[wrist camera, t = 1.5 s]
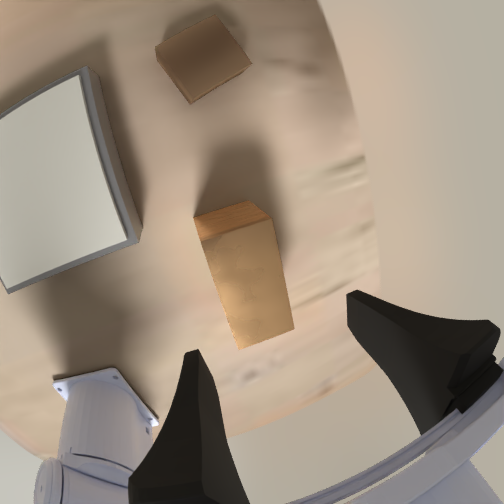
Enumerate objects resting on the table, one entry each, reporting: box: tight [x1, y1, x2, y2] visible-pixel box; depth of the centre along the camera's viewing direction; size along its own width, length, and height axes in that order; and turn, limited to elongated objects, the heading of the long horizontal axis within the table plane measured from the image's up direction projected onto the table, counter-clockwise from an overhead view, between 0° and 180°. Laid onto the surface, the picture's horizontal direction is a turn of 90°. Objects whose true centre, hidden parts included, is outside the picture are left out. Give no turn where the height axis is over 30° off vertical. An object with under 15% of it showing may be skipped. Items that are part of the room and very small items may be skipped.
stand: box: [0, 66, 143, 294], centre depth 14 cm, size 11×11×3 cm
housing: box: [193, 200, 294, 350], centre depth 19 cm, size 8×4×5 cm, turn 14°
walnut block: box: [155, 15, 252, 104], centre depth 14 cm, size 4×4×3 cm
